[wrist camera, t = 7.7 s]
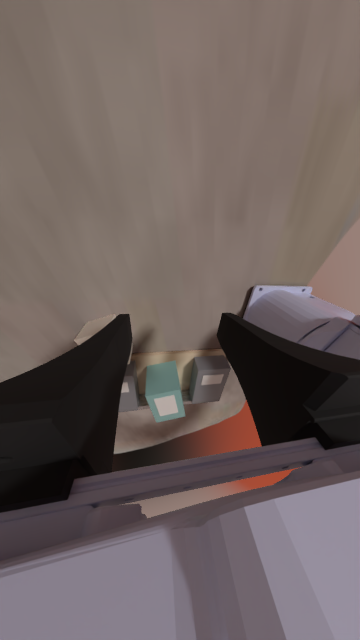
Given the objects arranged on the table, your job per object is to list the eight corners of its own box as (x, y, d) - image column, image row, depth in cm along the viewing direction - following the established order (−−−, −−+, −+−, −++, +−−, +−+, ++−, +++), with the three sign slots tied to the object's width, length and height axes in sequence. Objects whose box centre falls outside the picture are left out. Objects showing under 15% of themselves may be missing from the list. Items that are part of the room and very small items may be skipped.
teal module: (175, 360, 26) (180, 390, 21) (180, 387, 30) (185, 416, 25) (146, 365, 25) (145, 397, 21) (156, 392, 30) (156, 423, 25)
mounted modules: (223, 355, 27) (231, 368, 24) (213, 387, 32) (219, 401, 29) (99, 362, 24) (92, 379, 21) (110, 397, 28) (105, 414, 26)
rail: (213, 387, 32) (217, 398, 30) (212, 390, 32) (216, 400, 30) (110, 397, 28) (106, 410, 26) (110, 400, 29) (107, 413, 27)
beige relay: (114, 313, 20) (107, 330, 17) (133, 344, 24) (129, 363, 20) (87, 321, 20) (73, 340, 17) (109, 351, 24) (102, 372, 20)
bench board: (226, 348, 27) (227, 350, 26) (213, 388, 33) (214, 391, 33) (95, 355, 23) (94, 358, 23) (109, 398, 30) (108, 401, 29)
